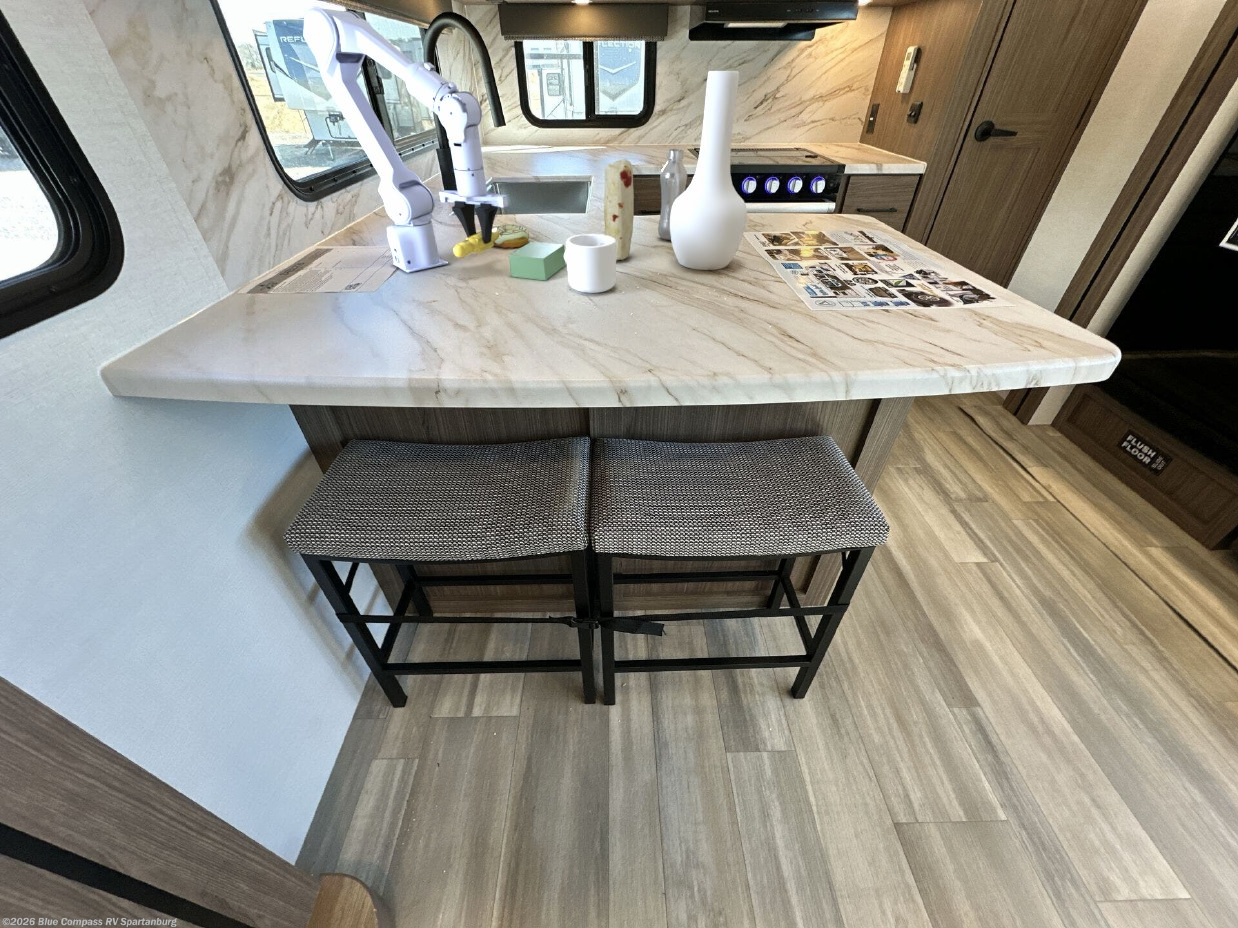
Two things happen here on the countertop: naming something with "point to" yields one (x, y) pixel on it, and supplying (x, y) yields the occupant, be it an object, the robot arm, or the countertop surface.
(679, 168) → the plastic bottle
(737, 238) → the vase
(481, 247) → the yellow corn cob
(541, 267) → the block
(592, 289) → the mug
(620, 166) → the food model
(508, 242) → the decorated donut
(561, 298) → the countertop surface
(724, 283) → the countertop surface
